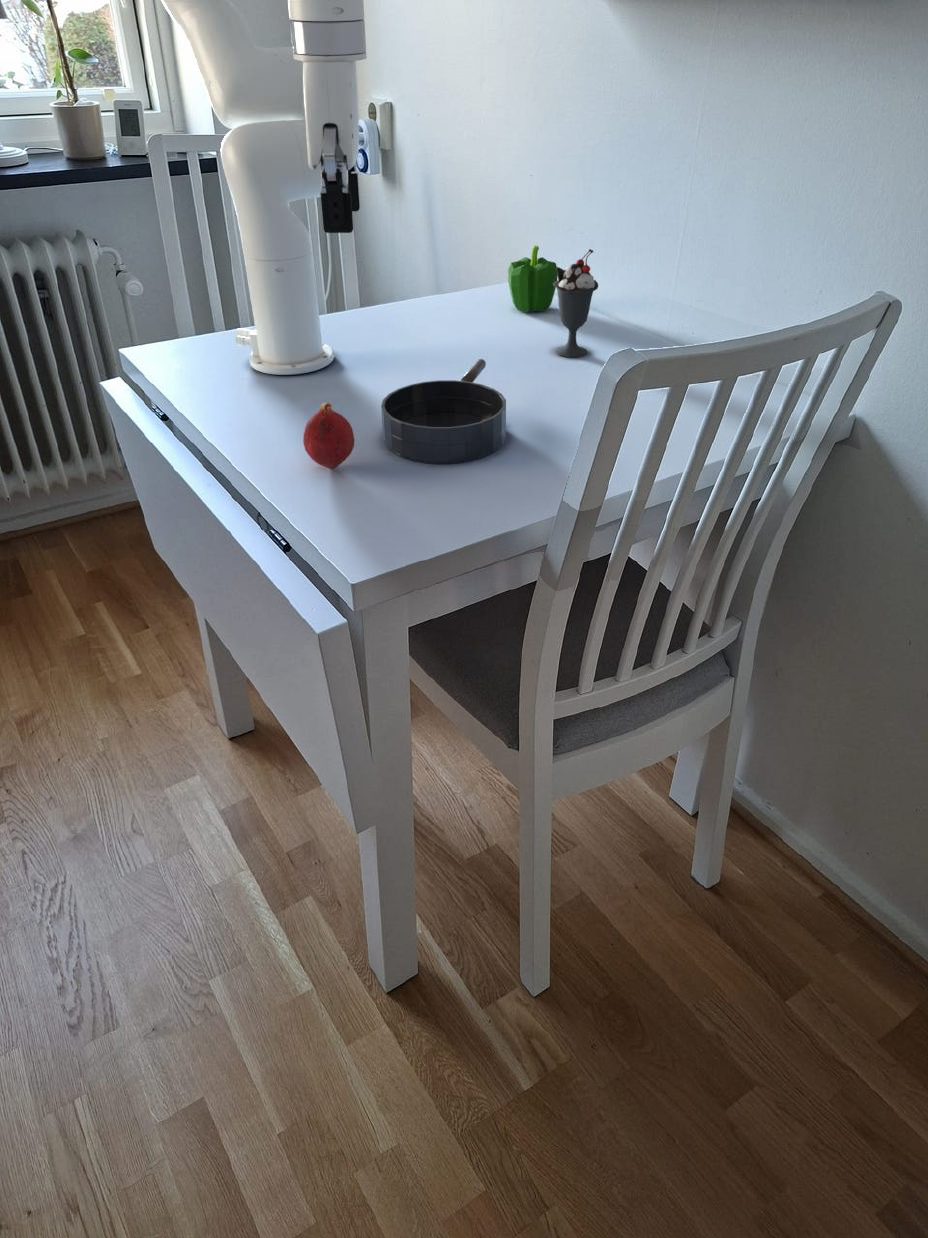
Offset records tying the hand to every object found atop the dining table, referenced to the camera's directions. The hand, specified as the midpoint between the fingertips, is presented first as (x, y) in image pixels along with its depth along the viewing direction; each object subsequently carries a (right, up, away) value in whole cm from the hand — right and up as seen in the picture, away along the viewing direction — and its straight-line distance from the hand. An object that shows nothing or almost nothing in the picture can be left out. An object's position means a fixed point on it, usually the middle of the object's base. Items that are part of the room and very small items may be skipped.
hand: (342, 220), depth 99 cm
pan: (+12, -23, +9) cm, 27 cm away
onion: (-2, -28, +3) cm, 28 cm away
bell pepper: (+26, +8, +52) cm, 59 cm away
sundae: (+30, -5, +34) cm, 46 cm away
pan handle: (+15, -13, +17) cm, 26 cm away
